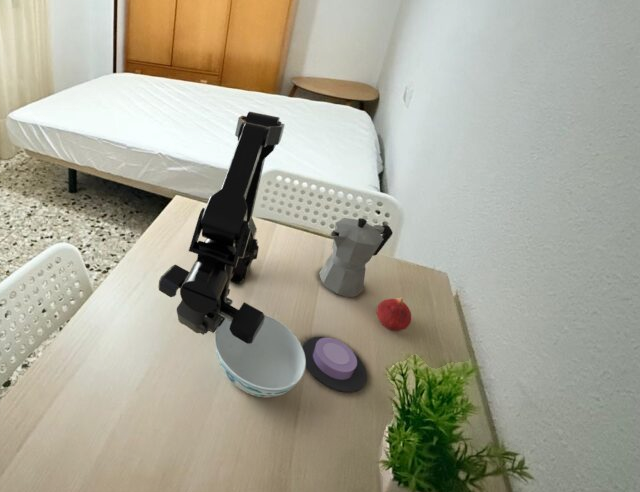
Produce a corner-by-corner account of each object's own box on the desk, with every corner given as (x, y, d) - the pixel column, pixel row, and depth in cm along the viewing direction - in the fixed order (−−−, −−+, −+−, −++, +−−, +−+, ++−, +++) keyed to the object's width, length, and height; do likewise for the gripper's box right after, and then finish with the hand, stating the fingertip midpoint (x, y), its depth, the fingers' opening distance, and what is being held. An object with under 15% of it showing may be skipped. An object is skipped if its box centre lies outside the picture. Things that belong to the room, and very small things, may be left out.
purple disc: (308, 364, 74) (311, 355, 73) (318, 338, 79) (321, 330, 78) (349, 387, 70) (353, 379, 69) (357, 359, 76) (360, 351, 75)
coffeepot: (327, 301, 88) (351, 236, 80) (303, 271, 96) (321, 209, 89) (387, 293, 91) (415, 229, 83) (358, 264, 99) (381, 203, 92)
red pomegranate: (409, 342, 80) (423, 313, 76) (377, 336, 81) (390, 307, 77) (397, 318, 85) (410, 290, 81) (368, 313, 86) (379, 285, 82)
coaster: (294, 367, 74) (294, 366, 74) (310, 327, 82) (311, 326, 82) (359, 405, 68) (360, 404, 68) (370, 359, 76) (371, 358, 76)
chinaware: (298, 357, 76) (307, 329, 72) (292, 436, 63) (303, 406, 60) (219, 327, 81) (225, 299, 78) (199, 394, 69) (205, 364, 65)
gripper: (143, 270, 69) (138, 333, 76) (246, 330, 59) (230, 397, 65) (178, 238, 77) (170, 297, 84) (274, 286, 67) (256, 350, 73)
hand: (203, 332), depth 76 cm, fingers closed
